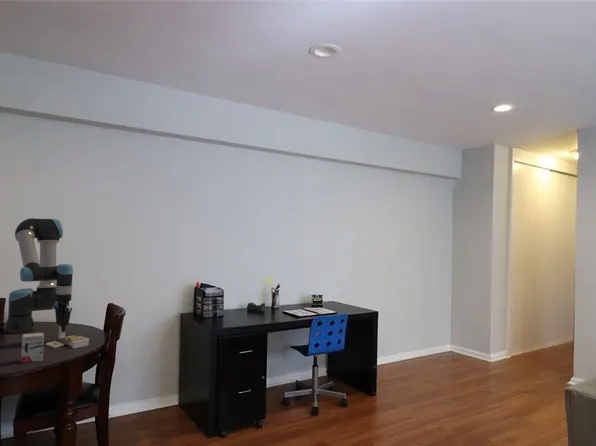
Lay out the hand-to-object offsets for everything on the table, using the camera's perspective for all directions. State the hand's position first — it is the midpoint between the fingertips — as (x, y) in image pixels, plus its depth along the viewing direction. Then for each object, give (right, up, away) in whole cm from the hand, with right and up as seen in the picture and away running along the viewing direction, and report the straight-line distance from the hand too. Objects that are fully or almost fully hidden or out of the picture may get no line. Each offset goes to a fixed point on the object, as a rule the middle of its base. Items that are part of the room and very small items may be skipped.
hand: (61, 337), depth 240 cm
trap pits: (+5, -2, -3) cm, 6 cm away
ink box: (+4, -2, -34) cm, 35 cm away
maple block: (+9, -2, -6) cm, 11 cm away
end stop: (+14, -2, -9) cm, 17 cm away
